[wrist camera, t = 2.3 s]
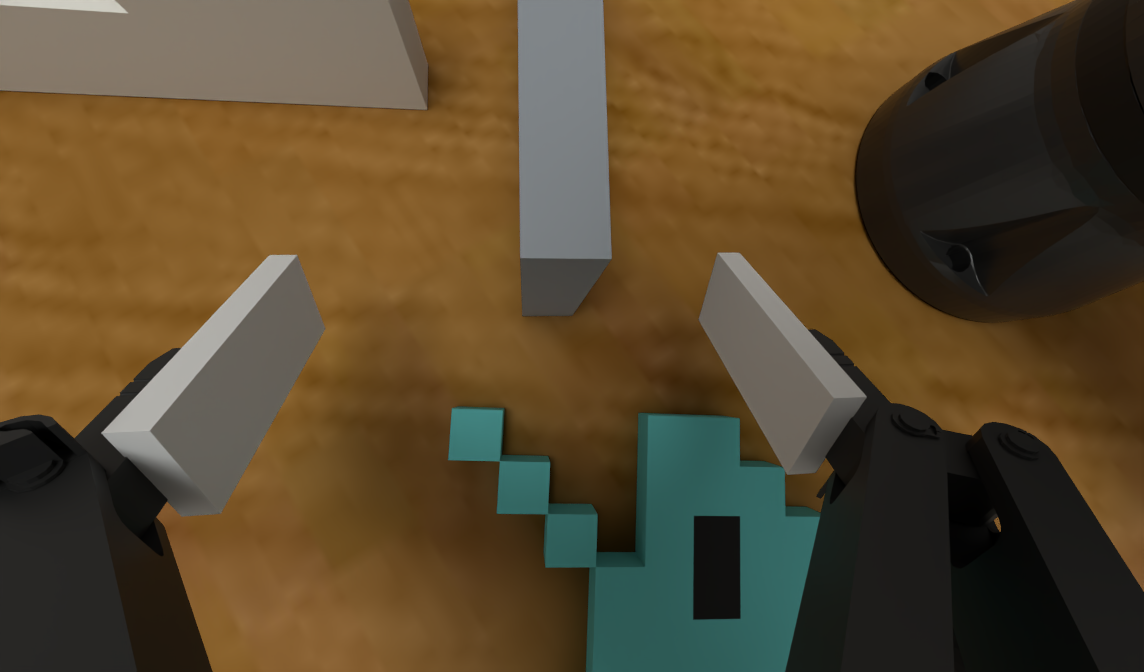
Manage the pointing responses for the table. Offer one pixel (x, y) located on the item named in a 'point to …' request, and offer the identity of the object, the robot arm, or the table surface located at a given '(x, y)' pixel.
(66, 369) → the table surface
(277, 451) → the table surface
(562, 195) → the grey slotted plate
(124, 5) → the white slotted plate
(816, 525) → the alien figure
